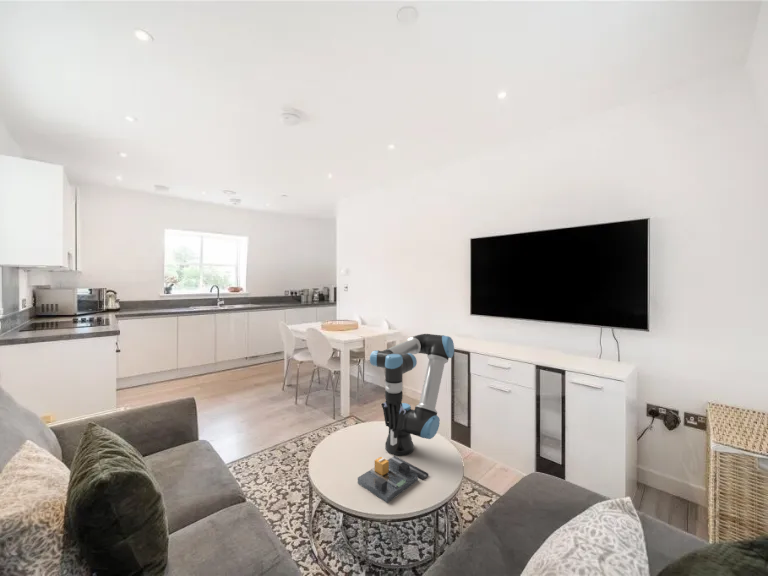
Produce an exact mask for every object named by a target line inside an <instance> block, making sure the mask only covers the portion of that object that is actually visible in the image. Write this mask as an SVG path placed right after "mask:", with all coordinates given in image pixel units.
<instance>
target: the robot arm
mask: <svg viewBox="0 0 768 576" xmlns="http://www.w3.org/2000/svg"><path fill="white" fill-rule="evenodd" d="M454 353H455V344H454V340H453V339H452V337H451V336H448V335H441V334H432V333H420V334H417V335H414V336H411V337H409V338H408V339H406V341H404V342H401V343H399V344H396V345H394V346H391V347H390V348H389V347H388V348H387V349H384V350H373V351H371V353H370V355H369V363H370V364H371V366H374V367H377V368H383V369H384V372H385V374H384V375H385V380H384V384H385V387H384V390H385V394H384V397H385V402H382V403H381V408H382V411H383V417H384V423H385V427H388V434H387V437H386V441H385V444H384V445H385V451H386V453H388V454H389V455H392V456H396V457H405V456H409V455H410V454H412V453H413V452H414V449H415V448H414V442H413V439H412V435H413V436H417V437H420V438H422V439H426V440H427V439H428V440H431V439H433V438H434V437H435V436H436V434H437V433H438V431H439V427H440V417H439V416H438V411H437V409H436V407H437V401H438V396H439V392H440V388H441V387H440V386H441V383H442V378H443V373H444V368H445V364H446V363H448V361H449V359H452V358H453V356H454V355H455V354H454ZM417 354H423V355H426V356H427V358H428V363H427V368H426V373H425V376H424V380H423V385H422V390H421V394H420V398H419V403H418V404H417V405H415V407H414V409H412V407H411V405H410V404H409V403H405V402H402V401H403V390H404V389H403V388H404V387H403V385H404V384H403V374H405V373H407V372H410V371H412V370H413V369H414V368H416V366H417V363H418V362H417V357H416V356H415V355H417Z"/></svg>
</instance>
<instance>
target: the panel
mask: <svg viewBox="0 0 768 576" xmlns="http://www.w3.org/2000/svg"><path fill="white" fill-rule="evenodd" d="M389 459H390V458H389ZM389 459H387V460H388V461H389V472H388V473H386V474H385V475H383V476H382V475H380V474H379V473H377V472H375V467H373V468H371V469H370V470H368V471H366V472H364V473H363V474H361V475H359V476H358V477H357V484H358V485H360V486H361V487H362V488H364V489H365V490H367V491H368V492H370V493H372V494H373V495H374V496H376V497H377V498H379V499H380V500H382V501H383V502H384V503H387V504H388V503H389V502H391V501H392V500H393V499H395V498H397V497H398V496H399V495H401V494H402V493H403V492H405V491H406V490H408V489H409V488H410V487H412V485H414V484H415V483H417V482H418V481H419V477H418V475H417V474H415V473H413V472H411V471H410V466H409V465H407V464H405V463H401V464H399V465H398V464H396V463H395V462H393V461H391V460H389Z"/></svg>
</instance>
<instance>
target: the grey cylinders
mask: <svg viewBox="0 0 768 576" xmlns="http://www.w3.org/2000/svg"><path fill="white" fill-rule="evenodd" d="M389 460H391V461H393V462H395V463H396V464H398V465H399V464H401V463H405V464H407V465H409V466H410V471H411V472H413V473H415V474H417V475H418V479H421V480H425V479H426V478H427V477H429V473H428V472H427V471H425V470H423V469H421V468H419V467H417V466H416V465H413V464H411V463H410V462H407V461H406V460H404V459H402V458H401V457H399V456H396V455H393V456H391V457H390V458H389Z"/></svg>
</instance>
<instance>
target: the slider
mask: <svg viewBox="0 0 768 576" xmlns="http://www.w3.org/2000/svg"><path fill="white" fill-rule="evenodd" d="M374 468H375V472H377V473H379V474H380V475H382V476H383V475H385V474H386V473H388V472H389V461H388V459H386V458H385V457H382V456H380V457H378V458H376V459H375V460H374Z"/></svg>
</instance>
